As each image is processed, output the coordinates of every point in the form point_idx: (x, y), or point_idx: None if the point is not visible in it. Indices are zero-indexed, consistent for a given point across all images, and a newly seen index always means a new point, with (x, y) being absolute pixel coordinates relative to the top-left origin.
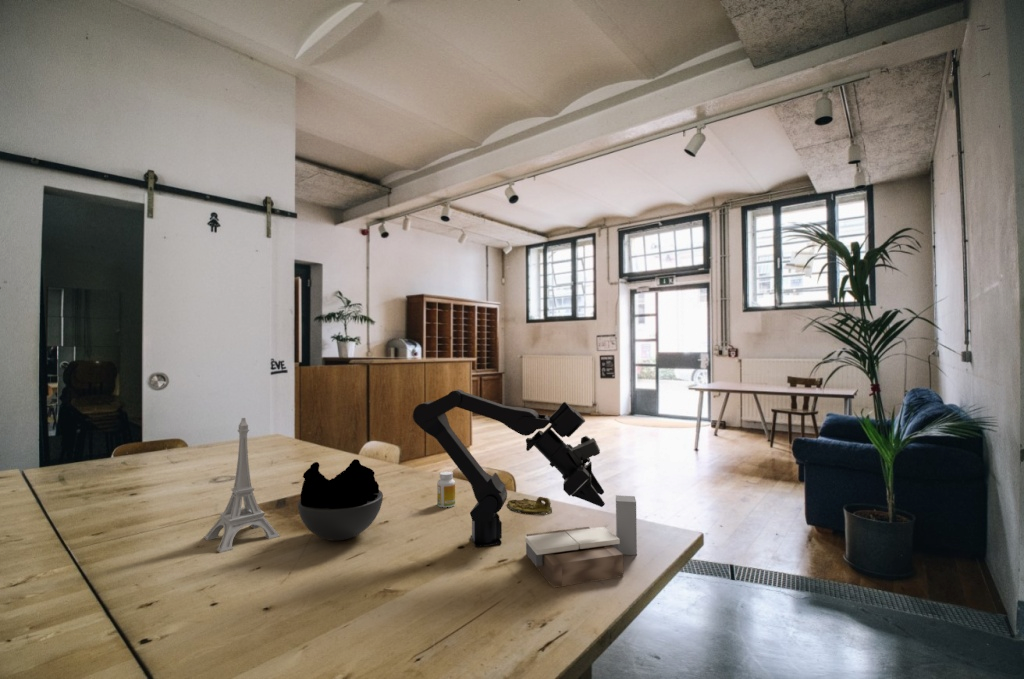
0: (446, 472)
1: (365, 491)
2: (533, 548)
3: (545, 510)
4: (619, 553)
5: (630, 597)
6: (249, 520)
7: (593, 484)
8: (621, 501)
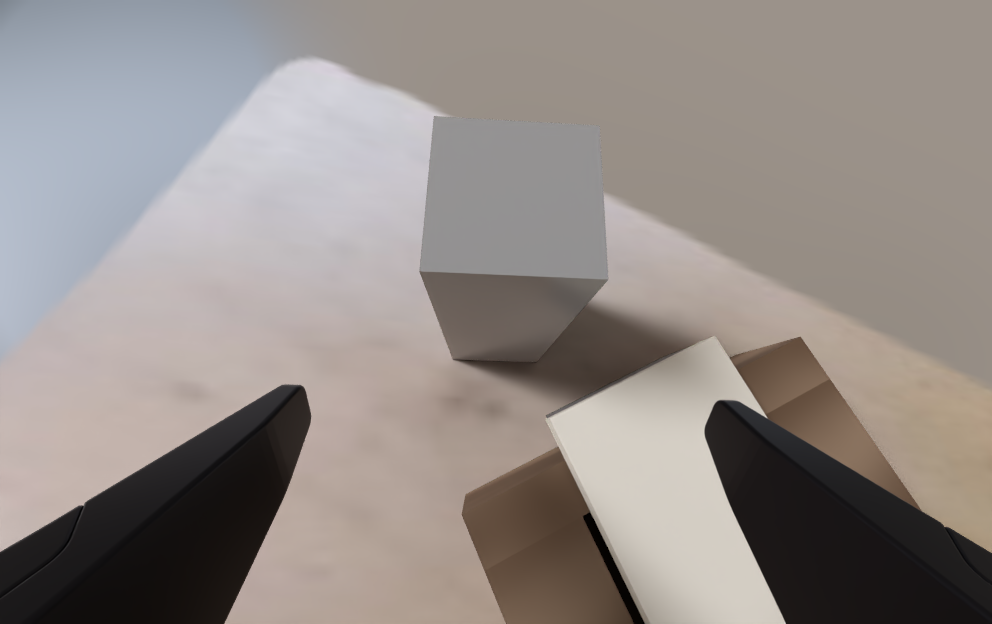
0: None
1: None
2: None
3: None
4: (797, 351)
5: (875, 345)
6: None
7: (210, 547)
8: (603, 236)
